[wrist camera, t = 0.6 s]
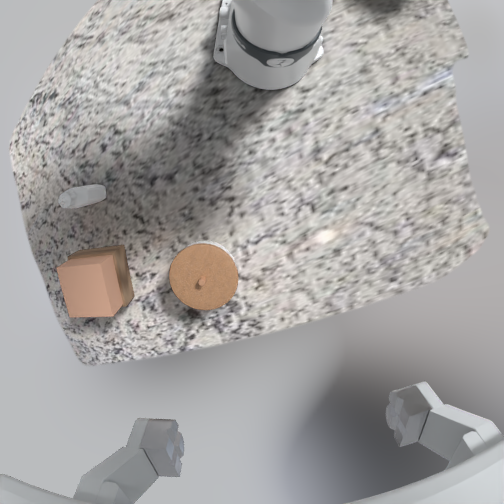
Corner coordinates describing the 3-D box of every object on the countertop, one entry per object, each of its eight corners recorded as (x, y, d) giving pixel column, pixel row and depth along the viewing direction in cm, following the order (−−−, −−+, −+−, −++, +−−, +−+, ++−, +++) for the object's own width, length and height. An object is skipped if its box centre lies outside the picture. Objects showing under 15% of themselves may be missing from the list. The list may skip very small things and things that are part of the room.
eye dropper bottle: (85, 177, 50) (50, 181, 38) (110, 187, 50) (78, 194, 39) (78, 199, 51) (43, 208, 39) (102, 210, 51) (70, 222, 40)
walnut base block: (79, 249, 53) (67, 256, 49) (124, 244, 53) (114, 251, 49) (91, 298, 56) (80, 308, 51) (134, 295, 56) (126, 306, 51)
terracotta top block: (70, 259, 49) (56, 267, 44) (112, 254, 49) (100, 263, 44) (81, 305, 51) (69, 317, 46) (123, 304, 51) (113, 316, 46)
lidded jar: (171, 281, 55) (159, 302, 46) (187, 225, 53) (176, 237, 44) (227, 299, 57) (225, 323, 47) (247, 245, 54) (248, 260, 45)
